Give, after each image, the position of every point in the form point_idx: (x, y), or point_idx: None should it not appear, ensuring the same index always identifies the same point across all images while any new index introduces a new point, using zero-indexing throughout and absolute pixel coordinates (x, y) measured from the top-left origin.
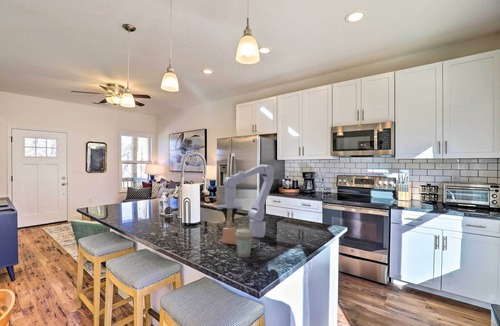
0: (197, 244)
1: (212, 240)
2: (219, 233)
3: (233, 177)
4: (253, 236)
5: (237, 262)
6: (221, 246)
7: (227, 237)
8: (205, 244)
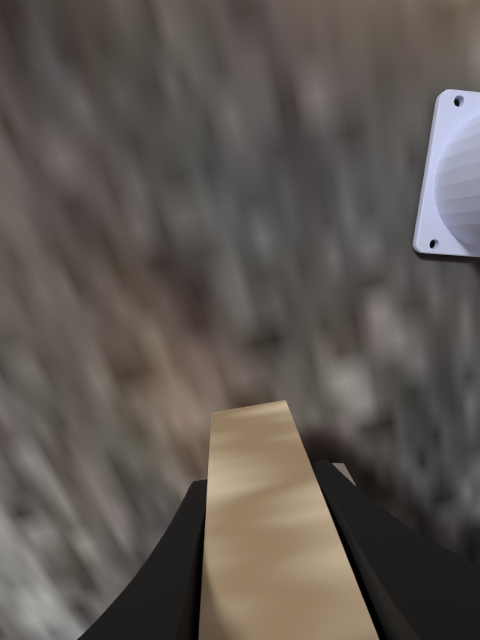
0: (15, 568)
1: (96, 449)
2: (70, 213)
3: None
4: (478, 256)
5: None
6: None
7: None
8: (81, 551)
